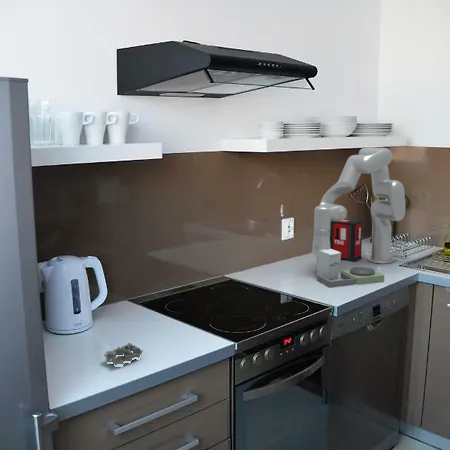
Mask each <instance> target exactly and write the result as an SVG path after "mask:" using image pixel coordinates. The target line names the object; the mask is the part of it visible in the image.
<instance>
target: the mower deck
mask: <svg viewBox="0 0 450 450" xmlns="http://www.w3.org/2000/svg"><path fill="white" fill-rule="evenodd" d="M316 275H317V274H316ZM340 278H341V279H338V280H337V279H335V280H328V279H326V278H324V277H322V276H321V275H317V276H316V281H318V282H319V283H321V284H323V285H324V286H327V287H328V288H338V287H345V286H353V285H354V284H359V285H366V284H367V283H368V284H376V283H384V282H385V275H384V274H382V273H380V272H377V271H376V270H375V269H373V268H371V267H365V266H364V267H363V266H358V267H357V266H355V267H351V268H350V269H342V270H340Z"/></svg>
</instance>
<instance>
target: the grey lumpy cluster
mask: <svg viewBox="0 0 450 450" xmlns="http://www.w3.org/2000/svg"><path fill="white" fill-rule="evenodd" d="M131 351H133V353H132V352H131ZM143 352H144V350H143V349H142V350H141V348H140V347H137V346H136V345H135V344H134V345H133V344H132V343H130V342H128V343H127V344H125V345H122V346H119V347H117V348H115V349H112V350H107V351H105V352H104V355H103V357H105V362H106V361H107V362H113V364H115V365H117V364H124V363H123V362H124V361H131V360H132V358H134V357H138V358H139V357H140V355H141V356H142V354H143ZM123 354H124V356H118V357H117V358H115V357H116V355H123ZM124 365H125V364H124Z"/></svg>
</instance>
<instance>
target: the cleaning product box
mask: <svg viewBox="0 0 450 450" xmlns="http://www.w3.org/2000/svg"><path fill="white" fill-rule="evenodd" d="M329 237H330V249H333V250H336V251H338V252H341V259H340V261H346V262H351V263H356V262H357V261H360V260H361V259H362V243H363V220H355V219H347V218H346V219H343V220H341V221H331V224H330V236H329Z"/></svg>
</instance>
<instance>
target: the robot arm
mask: <svg viewBox="0 0 450 450" xmlns="http://www.w3.org/2000/svg"><path fill="white" fill-rule="evenodd" d="M392 159H393V153H392V151H391V150H390V149H389V148H386V147H376V146H374V147H371V146H370V147H369V146H368V147H362V148H360V149H359V152H358V154H354V155H353V154H352V155H350V156H349V157H348V159H347V160H346V163H345V165H344V166H343V169H342V171H341V174H340V176H339V178H338V181H337V182H336V183H334V184H333V185H332V186H331V187H330V188H329V189H328V190H326V191H325V193H324V194H323V196H322V198H321V201H320V203H319V205H317V206H316V207H315V208H314V209H313V210H314V214H313V215H314V217H313V221H314V222H313V238H312V249H311V252H312V254H313V256H315V257H316V261H317V263H318V257H319V251H320V250H325V249H330V237H329V236H330V224H331V221H341V220H343V219H345V218H347V216H348V215H347V214H348V211H347V208H346V207H345V206H344V205H340V204H336V203H335V201H336V200H337V199H338V198H340V197H341V196H342V195H344V194H347V193H350V192H351V191H352V192H353V191H354V190H355V189H356V186H357V184H358V183H359V182H358V181H359V179H360V177H361V175H362V174H366V175H367V174H370V177H371V188H372V194H373V195H374V197H376V198H379V199H376V200H375V201H374V202H372V204H371V206H370V215H371V223H372V225H371V227H372V229H371V256H368V258H367V260H368V262H371V263H374V264H392V263H394V257H399V252H393V251H391V250H392V249H391V248H392V231H393V230H392V227H393V226H392V224H391V221H394V222H400V221H402V220H403V219H404V217H405V215H406V198H405V196H406V194H405V187H404V185H403V183H402V182H401V181H399V180H396V179H390V172H389V167H388V165H389V164H390V163H391V162H392Z"/></svg>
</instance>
